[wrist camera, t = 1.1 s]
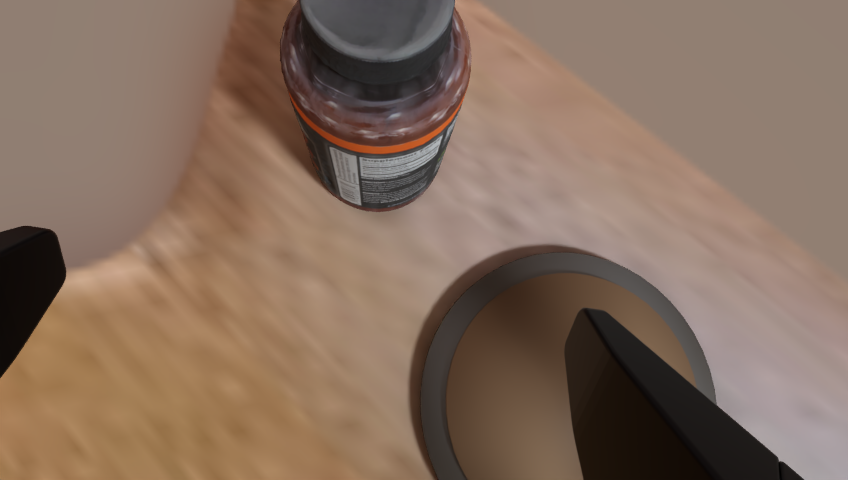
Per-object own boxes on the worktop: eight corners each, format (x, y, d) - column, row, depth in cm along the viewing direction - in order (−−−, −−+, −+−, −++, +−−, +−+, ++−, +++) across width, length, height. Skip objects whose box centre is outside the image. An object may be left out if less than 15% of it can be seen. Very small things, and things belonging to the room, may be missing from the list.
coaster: (569, 642, 20) (578, 655, 19) (357, 389, 21) (356, 390, 20) (764, 410, 23) (780, 413, 22) (566, 200, 24) (573, 194, 23)
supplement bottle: (310, 99, 24) (253, -117, 13) (433, 95, 24) (481, -114, 13) (315, 220, 22) (258, 95, 11) (445, 212, 23) (509, 87, 12)
